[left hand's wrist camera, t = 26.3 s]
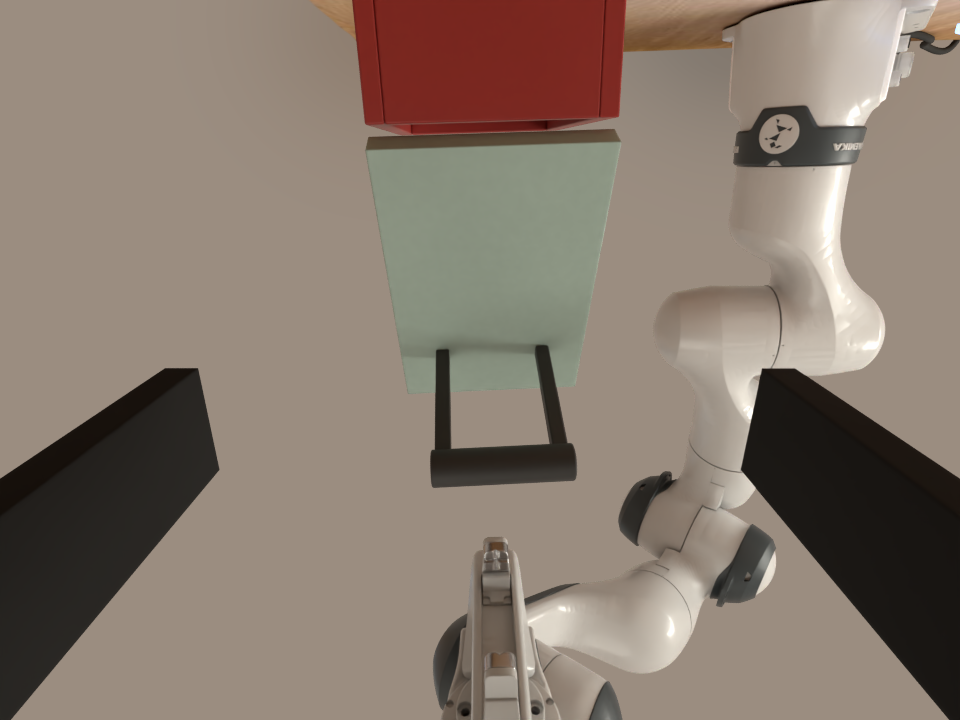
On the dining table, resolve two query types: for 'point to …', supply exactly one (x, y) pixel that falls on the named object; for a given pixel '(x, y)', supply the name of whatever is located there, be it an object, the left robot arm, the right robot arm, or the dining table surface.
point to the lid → (493, 276)
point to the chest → (488, 64)
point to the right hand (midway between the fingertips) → (497, 595)
